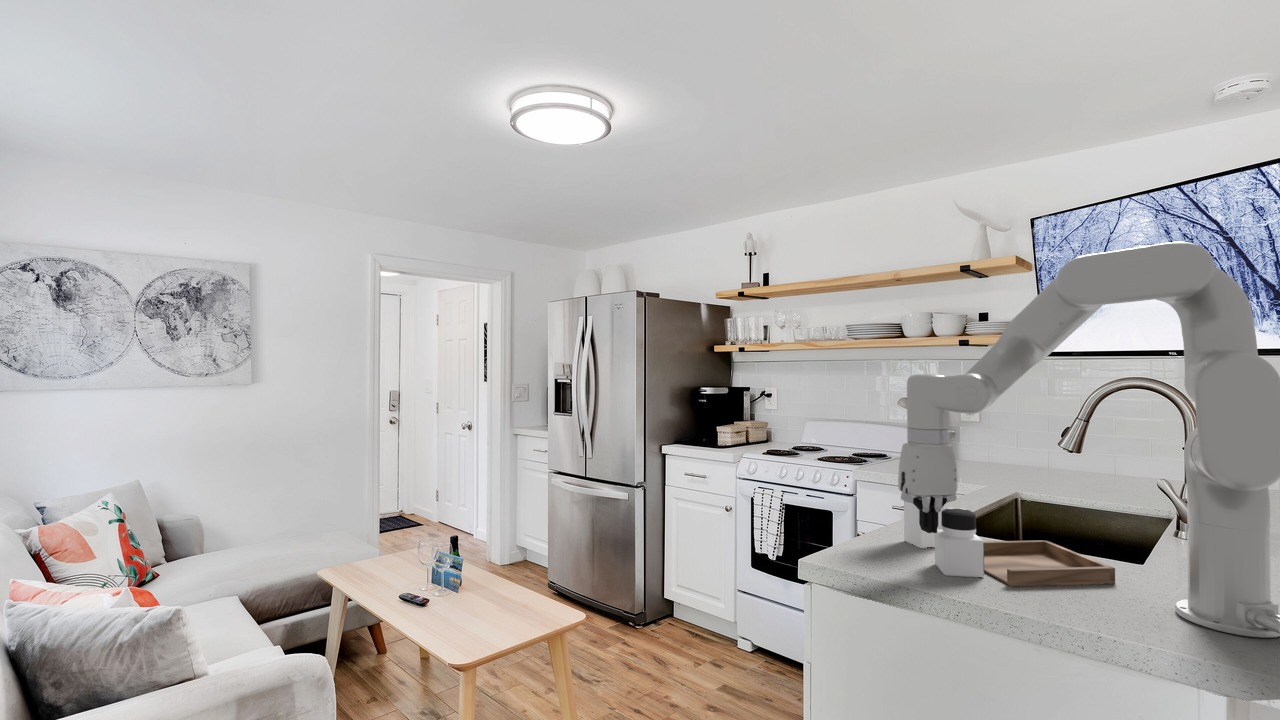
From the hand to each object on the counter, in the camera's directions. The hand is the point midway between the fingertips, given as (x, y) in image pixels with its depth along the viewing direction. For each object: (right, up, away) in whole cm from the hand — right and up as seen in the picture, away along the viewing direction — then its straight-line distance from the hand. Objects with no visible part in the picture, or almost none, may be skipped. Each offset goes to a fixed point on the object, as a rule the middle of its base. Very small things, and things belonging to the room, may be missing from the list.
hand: (928, 531), depth 122 cm
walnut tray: (+20, -8, +1) cm, 22 cm away
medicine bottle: (+6, -8, 0) cm, 10 cm away
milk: (+7, -8, +19) cm, 22 cm away
